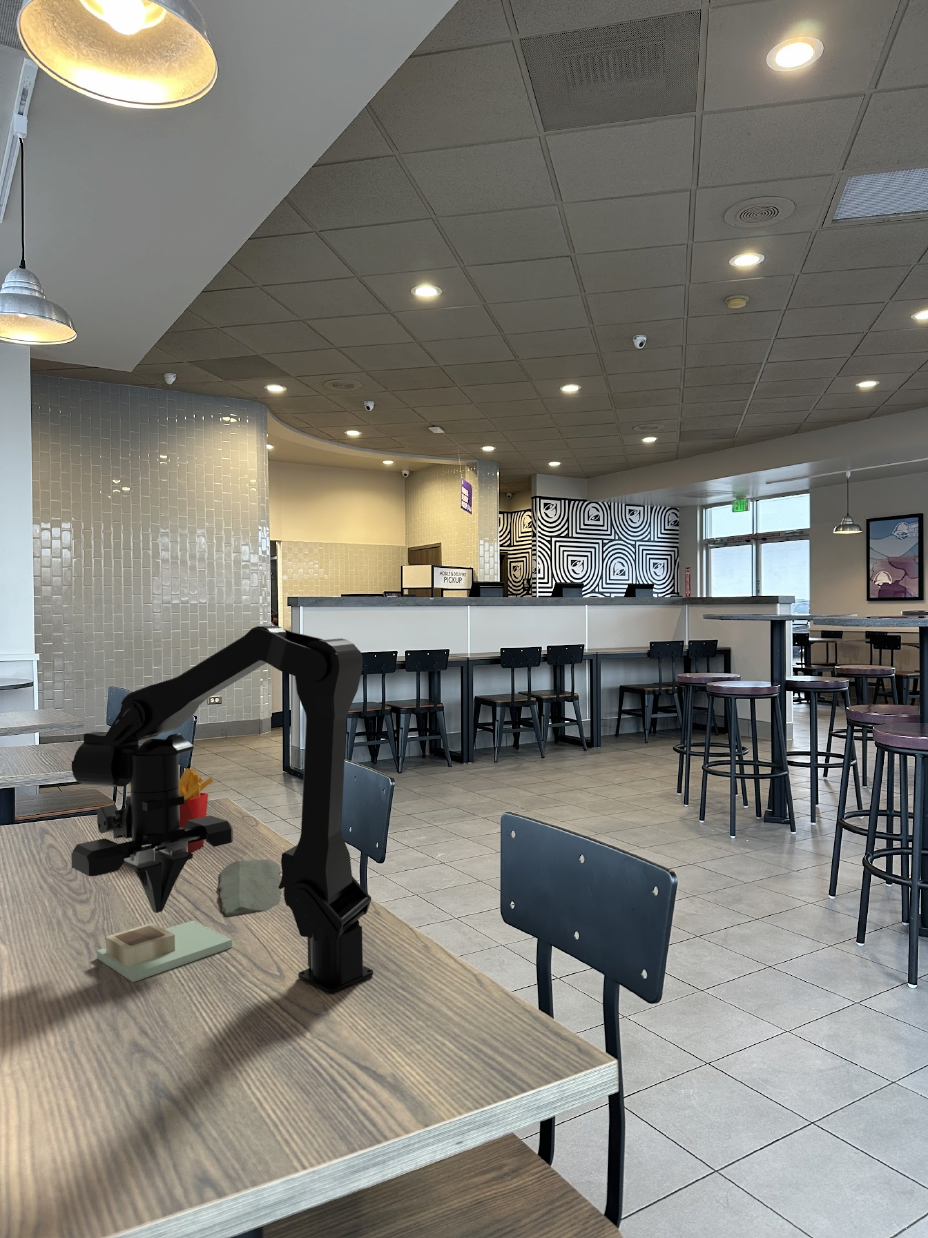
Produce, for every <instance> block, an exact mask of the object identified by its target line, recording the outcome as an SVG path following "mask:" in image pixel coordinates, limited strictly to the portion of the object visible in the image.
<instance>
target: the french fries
mask: <svg viewBox="0 0 928 1238" xmlns="http://www.w3.org/2000/svg"><path fill="white" fill-rule="evenodd" d="M213 782H214V779H213V778H212V776H211V777H208V778H207V779H206V780H204V778H203V777H201V776H200V773H199V772H197V771H196V770H195V769H193V768H192V769H191V768H187V767H186V768H185V770H184V772H183V773H182V775H181V777H180V778H179V795H182V796H184V804H182V805H179V812H180V827H182V828H185V824H186V823H187V821H188V820H192V819H197V818H201V817H206V816H207V811H208V800H209V793H208V792H201V791H203V790H204V789H206V788H207V787H208V786H209V785H210V784H212V783H213ZM204 843H205V840H201V841H197V842H192V843H188V852H189V853H192V854H193V853H194V852H196V851H199V850H200V849H202V848H201V847H203V848H204ZM199 848H200V849H199ZM195 850H196V851H195Z"/></svg>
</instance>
